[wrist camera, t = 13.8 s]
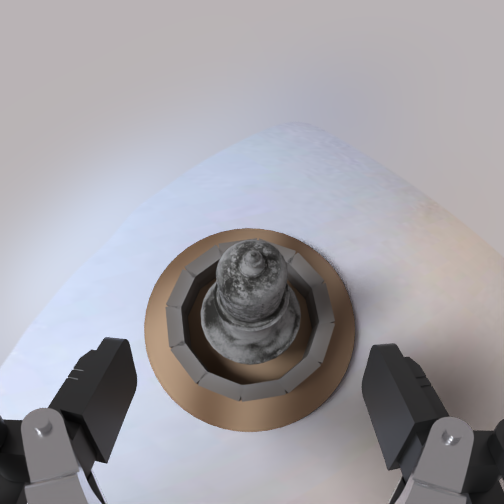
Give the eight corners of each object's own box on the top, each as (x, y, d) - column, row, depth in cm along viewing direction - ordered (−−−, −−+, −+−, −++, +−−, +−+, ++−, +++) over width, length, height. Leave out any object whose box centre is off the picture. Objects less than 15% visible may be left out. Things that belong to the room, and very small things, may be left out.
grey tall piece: (308, 342, 22) (368, 284, 11) (232, 384, 20) (214, 371, 9) (266, 273, 24) (281, 163, 13) (193, 309, 22) (145, 223, 12)
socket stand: (369, 271, 25) (386, 252, 22) (311, 455, 19) (323, 466, 16) (198, 212, 27) (192, 186, 24) (118, 378, 21) (97, 374, 18)
